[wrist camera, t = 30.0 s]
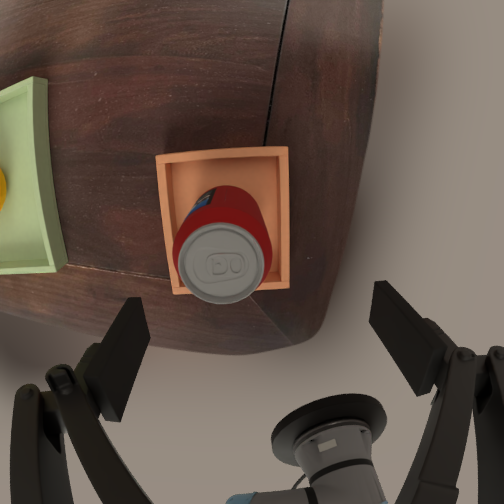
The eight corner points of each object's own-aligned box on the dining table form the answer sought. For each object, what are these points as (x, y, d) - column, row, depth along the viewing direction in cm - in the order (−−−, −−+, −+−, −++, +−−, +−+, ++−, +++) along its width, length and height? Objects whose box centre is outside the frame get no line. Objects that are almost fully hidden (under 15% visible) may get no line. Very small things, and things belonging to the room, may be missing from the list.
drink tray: (284, 275, 33) (289, 288, 30) (178, 280, 33) (173, 294, 30) (282, 145, 28) (288, 146, 25) (163, 153, 28) (155, 155, 25)
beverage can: (190, 185, 29) (160, 215, 17) (260, 182, 29) (276, 210, 18) (194, 251, 31) (174, 314, 20) (261, 248, 31) (275, 311, 20)
